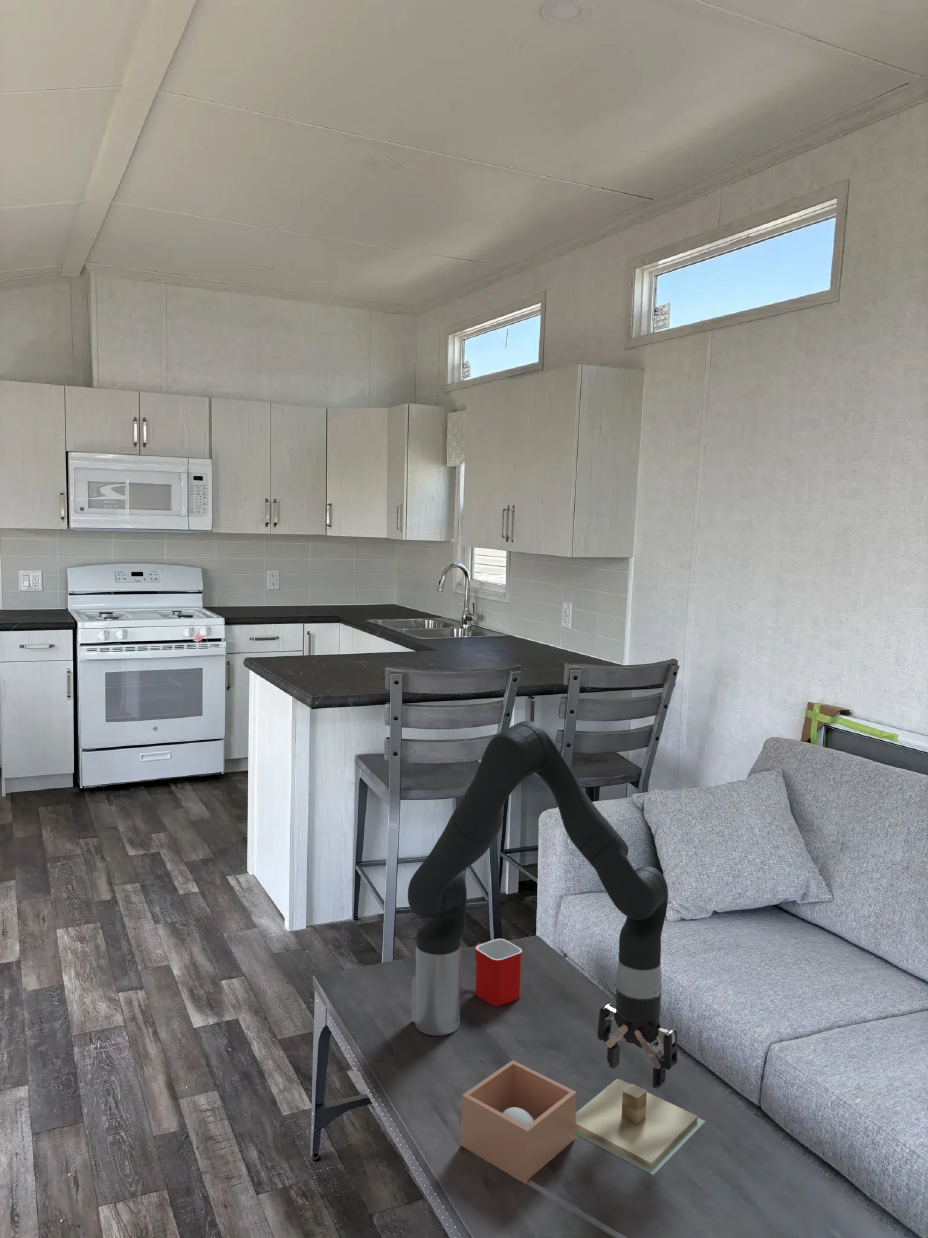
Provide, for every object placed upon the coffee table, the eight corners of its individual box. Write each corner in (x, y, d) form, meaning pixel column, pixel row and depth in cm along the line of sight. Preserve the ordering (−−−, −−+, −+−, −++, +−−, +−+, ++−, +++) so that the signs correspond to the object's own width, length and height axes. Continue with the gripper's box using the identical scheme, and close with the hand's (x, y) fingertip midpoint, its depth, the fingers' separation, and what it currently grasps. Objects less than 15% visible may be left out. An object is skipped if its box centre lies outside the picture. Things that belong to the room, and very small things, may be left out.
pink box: (461, 1145, 156) (462, 1095, 155) (511, 1107, 167) (512, 1060, 166) (526, 1184, 147) (527, 1131, 146) (574, 1142, 158) (576, 1092, 157)
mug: (524, 997, 205) (525, 951, 203) (495, 1009, 200) (496, 961, 198) (489, 975, 214) (490, 931, 213) (461, 986, 209) (461, 940, 208)
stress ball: (539, 1171, 155) (559, 1134, 156) (507, 1160, 151) (528, 1121, 152) (513, 1143, 162) (533, 1107, 163) (482, 1131, 158) (502, 1095, 159)
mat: (560, 1129, 161) (560, 1125, 161) (616, 1082, 175) (616, 1079, 174) (653, 1178, 149) (653, 1175, 149) (705, 1124, 163) (705, 1121, 163)
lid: (568, 1125, 161) (569, 1092, 160) (618, 1084, 173) (619, 1053, 172) (650, 1169, 151) (652, 1134, 150) (697, 1121, 163) (698, 1089, 162)
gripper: (591, 980, 161) (588, 1069, 162) (665, 1009, 151) (661, 1103, 153) (614, 965, 166) (611, 1051, 168) (687, 992, 157) (683, 1083, 159)
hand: (635, 1076), depth 161 cm, fingers open, 8 cm apart
